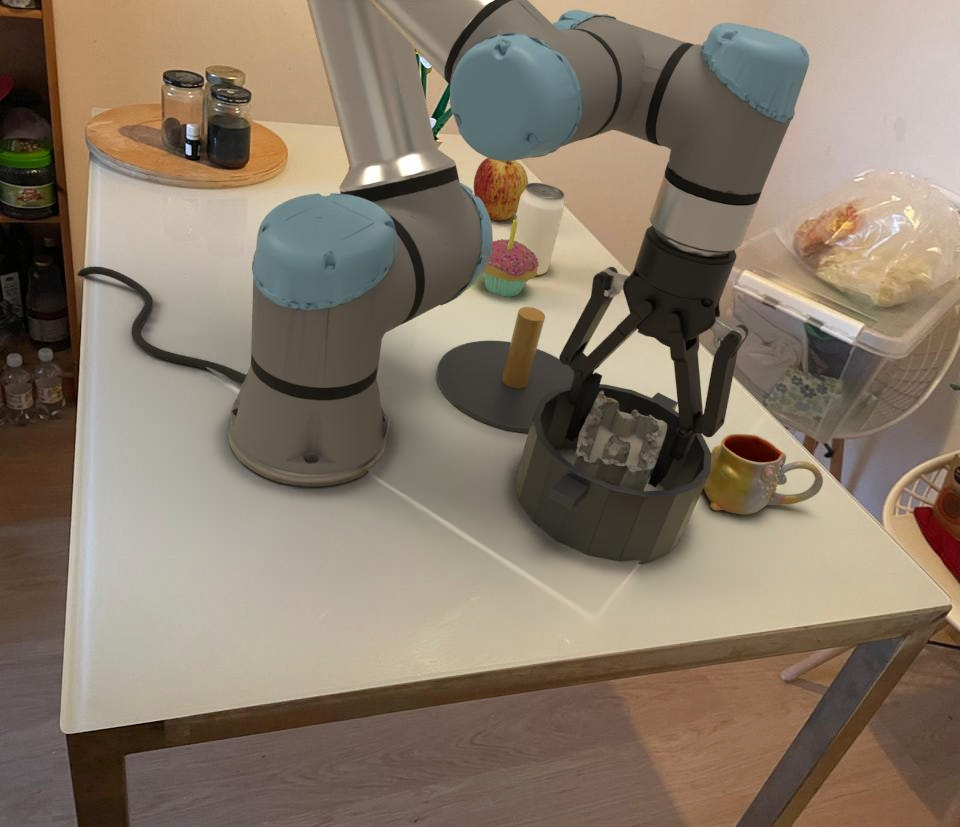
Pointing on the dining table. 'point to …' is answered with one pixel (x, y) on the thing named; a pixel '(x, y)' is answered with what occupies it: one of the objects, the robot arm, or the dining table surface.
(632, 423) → the egg carton
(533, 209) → the can
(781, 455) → the mug
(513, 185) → the apple
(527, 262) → the cupcake
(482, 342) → the lid
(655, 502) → the pot
